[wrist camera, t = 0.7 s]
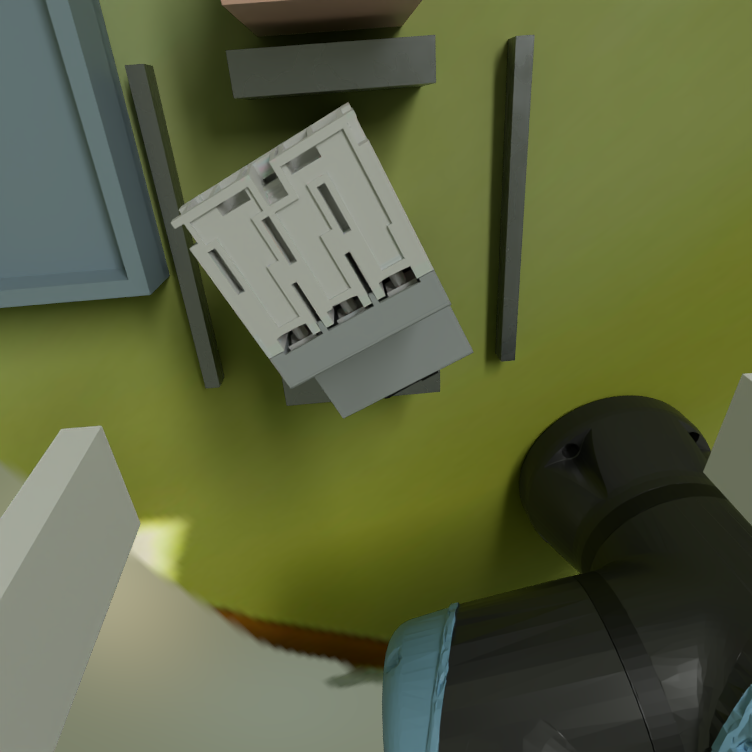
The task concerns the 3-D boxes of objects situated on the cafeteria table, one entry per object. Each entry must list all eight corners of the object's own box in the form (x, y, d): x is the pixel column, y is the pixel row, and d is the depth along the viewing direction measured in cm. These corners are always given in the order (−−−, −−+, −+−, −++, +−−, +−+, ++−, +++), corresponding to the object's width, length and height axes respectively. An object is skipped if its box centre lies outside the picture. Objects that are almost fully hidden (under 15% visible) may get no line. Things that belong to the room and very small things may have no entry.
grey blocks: (508, 351, 39) (530, 383, 34) (210, 378, 38) (193, 414, 34) (525, 38, 30) (558, 25, 25) (134, 67, 29) (97, 59, 25)
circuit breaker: (353, 354, 38) (362, 487, 25) (237, 170, 32) (165, 215, 18) (446, 305, 37) (508, 417, 23) (344, 104, 30) (349, 101, 17)
